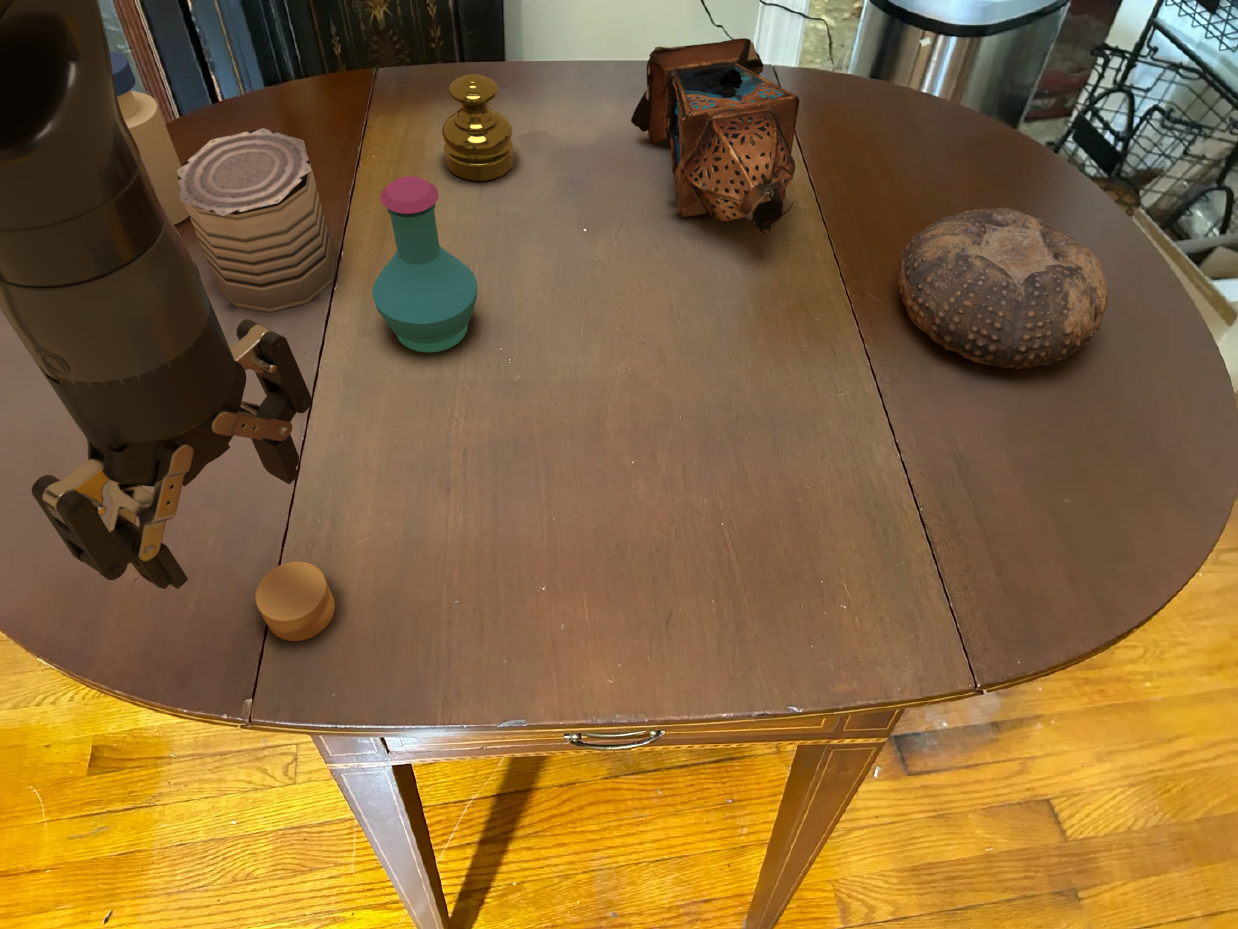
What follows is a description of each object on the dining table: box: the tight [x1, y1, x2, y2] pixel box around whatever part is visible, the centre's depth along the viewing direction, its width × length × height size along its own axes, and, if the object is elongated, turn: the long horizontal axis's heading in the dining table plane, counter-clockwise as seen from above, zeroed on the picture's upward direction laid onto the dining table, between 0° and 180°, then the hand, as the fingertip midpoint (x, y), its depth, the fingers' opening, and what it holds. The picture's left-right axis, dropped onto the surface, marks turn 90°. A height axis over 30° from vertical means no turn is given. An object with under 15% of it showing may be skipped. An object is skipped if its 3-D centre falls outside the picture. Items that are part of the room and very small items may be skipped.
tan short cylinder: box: [254, 561, 336, 642], centre depth 65 cm, size 5×5×3 cm
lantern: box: [630, 37, 801, 234], centre depth 94 cm, size 16×16×25 cm
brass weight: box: [441, 73, 514, 182], centre depth 97 cm, size 7×7×10 cm
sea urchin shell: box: [898, 207, 1109, 370], centre depth 85 cm, size 19×19×10 cm
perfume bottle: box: [371, 176, 478, 353], centre depth 79 cm, size 9×9×15 cm
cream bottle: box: [109, 50, 190, 226], centre depth 88 cm, size 7×7×16 cm
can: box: [177, 127, 336, 313], centre depth 84 cm, size 11×11×12 cm
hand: (229, 524), depth 53 cm, fingers open, 8 cm apart
